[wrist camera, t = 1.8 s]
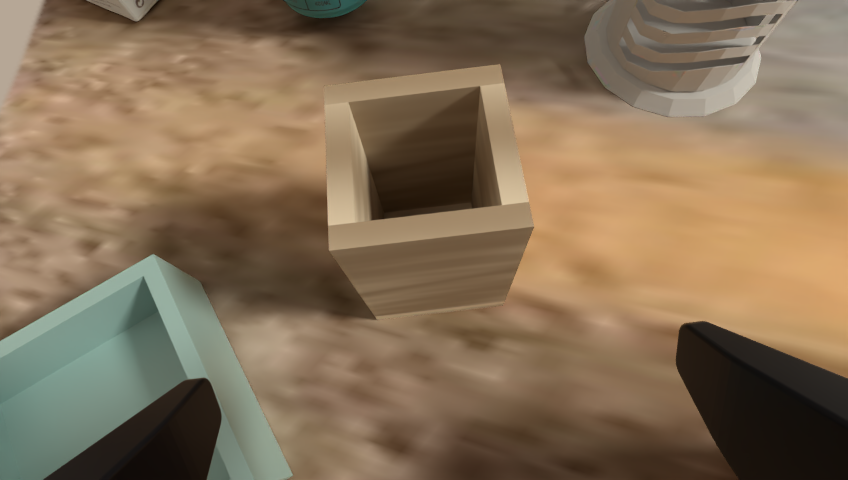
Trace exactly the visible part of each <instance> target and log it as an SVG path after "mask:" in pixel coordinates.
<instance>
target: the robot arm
mask: <svg viewBox="0 0 848 480" xmlns="http://www.w3.org/2000/svg"><path fill="white" fill-rule="evenodd" d="M676 365H677V369H678V372H679V374H680V376H681V378H682V380H683V382H684V384H685V386H686V388H687V389H688V391H689V393H690V395H691V397H692V399H693V401H694V403H695V405H696V407H697V409H698V411H699V413H700V415H701V416H702V418H703V420H704V422H705V424H706V426H707V428H708V430H709V432H710V434H711V436H712V437H713V439H714V441H715V443H716V445H717V446H718V448H719V449H720V451H721V453H722V454H723V456H724V457H725V459H726V460H727V462H728V463H729V465H730V467H731V468H732V470H733V471H734V473H735V474H736V476H737V477H738V479H739V480H848V378H845V377H843V376H840V375H838V374H835V373H833V372H830V371H828V370H825V369H823V368H820V367H818V366H815V365H813V364H810V363H808V362H805V361H803V360H800V359H798V358H795V357H793V356H790V355H788V354H785V353H783V352H780V351H778V350H776V349H773V348H771V347H768V346H766V345H763V344H761V343H758V342H756V341H753V340H751V339H748V338H746V337H743V336H741V335H738V334H736V333H733V332H731V331H728V330H726V329H723V328H721V327H718V326H716V325H713V324H711V323H709V322H705V321H700V322H691V323H684V324H683V325H682V326H681V327H680V330H679V336H678V344H677V353H676ZM221 420H222V414H221V409H220V406H219V404H218V401H217V398H216V395H215V393H214V390H213V387H212V384H211V382H210V381H209V380H208V379H207V378H195V379H187V380H184V381H182V382H181V383H179V384H178V385H177V386H175V387H174V388H172V389H171V390H169V391H168V392H167V393H165V394H164V395H162V396H161V397H159V398H158V399H157V400H155V401H154V402H152V403H151V404H150V405H148V406H147V407H145V408H144V409H142V410H141V411H140V412H138V413H137V414H135V415H134V416H132V417H131V418H130V419H128V420H127V421H125V422H124V423H122V424H121V425H120V426H118V427H117V428H115V429H114V430H113V431H111V432H110V433H108V434H107V435H105V436H104V437H103V438H101V439H100V440H98V441H97V442H95V443H94V444H93V445H91V446H90V447H88V448H87V449H85V450H84V451H83V452H81V453H80V454H78V455H77V456H76V457H74V458H73V459H71V460H70V461H68V462H67V463H66V464H64V465H63V466H61V467H60V468H58V469H57V470H56V471H54V472H53V473H51V474H50V475H48V476H47V477H46V478H44V479H43V480H207V477H208V473H209V469H210V465H211V461H212V457H213V453H214V449H215V446H216V442H217V438H218V434H219V430H220V426H221Z"/></svg>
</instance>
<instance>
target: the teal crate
mask: <svg viewBox="0 0 848 480" xmlns="http://www.w3.org/2000/svg"><path fill="white" fill-rule="evenodd" d="M195 378H207V379H208V380H209V381H210V382H211V384H212V387H213V390H214V393H215V395H216V398H217V401H218V404H219V406H220V409H221V414H222V420H221V426H220V430H219V434H218V438H217V442H216V446H215V449H214V453H213V457H212V461H211V465H210V469H209V473H208V477H207V480H287V479H289V478H290V477H291V476H293V474H292V472H291V470H290V468H289V466H288V464H287V462H286V460H285V458H284V456H283V454H282V451H281V449H280V447H279V445H278V443H277V441H276V439H275V437H274V435H273V433H272V431H271V428H270V426H269V424H268V422H267V420H266V418H265V416H264V414H263V412H262V410H261V408H260V406H259V403H258V401H257V399H256V397H255V395H254V393H253V391H252V389H251V387H250V385H249V383H248V380H247V378H246V376H245V374H244V372H243V370H242V368H241V366H240V364H239V362H238V360H237V358H236V355H235V353H234V351H233V349H232V347H231V345H230V343H229V341H228V339H227V337H226V335H225V332H224V330H223V328H222V326H221V324H220V322H219V320H218V318H217V316H216V314H215V312H214V309H213V307H212V305H211V303H210V301H209V299H208V297H207V295H206V293H205V291H204V289H203V287H202V284H201V282H200V281H199V280H197V279H195V278H194V277H192V276H190V275H188V274H187V273H185V272H183V271H182V270H180V269H178V268H176V267H175V266H173V265H171V264H170V263H168V262H166V261H164V260H163V259H161V258H159V257H158V256H156V255H154V254H152V255H151V256H149V257H147V258H145V259H144V260H142V261H140V262H138V263H136V264H135V265H133V266H131V267H129V268H128V269H126V270H124V271H122V272H121V273H119V274H117V275H115V276H114V277H112V278H110V279H108V280H107V281H105V282H103V283H101V284H100V285H98V286H96V287H94V288H93V289H91V290H89V291H87V292H86V293H84V294H82V295H80V296H78V297H77V298H75V299H73V300H71V301H70V302H68V303H66V304H64V305H63V306H61V307H59V308H57V309H56V310H54V311H52V312H50V313H49V314H47V315H45V316H43V317H42V318H40V319H38V320H36V321H35V322H33V323H31V324H29V325H28V326H26V327H24V328H22V329H21V330H19V331H17V332H15V333H13V334H12V335H10V336H8V337H6V338H5V339H3V340H1V341H0V480H43V479H44V478H46V477H47V476H48V475H50V474H51V473H53V472H54V471H56V470H57V469H58V468H60V467H61V466H63V465H64V464H66V463H67V462H68V461H70V460H71V459H73V458H74V457H76V456H77V455H78V454H80V453H81V452H83V451H84V450H85V449H87V448H88V447H90V446H91V445H93V444H94V443H95V442H97V441H98V440H100V439H101V438H103V437H104V436H105V435H107V434H108V433H110V432H111V431H113V430H114V429H115V428H117V427H118V426H120V425H121V424H122V423H124V422H125V421H127V420H128V419H130V418H131V417H132V416H134V415H135V414H137V413H138V412H140V411H141V410H142V409H144V408H145V407H147V406H148V405H150V404H151V403H152V402H154V401H155V400H157V399H158V398H159V397H161V396H162V395H164V394H165V393H167V392H168V391H169V390H171V389H172V388H174V387H175V386H177V385H178V384H179V383H181V382H182V381H184V380H187V379H195Z"/></svg>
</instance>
